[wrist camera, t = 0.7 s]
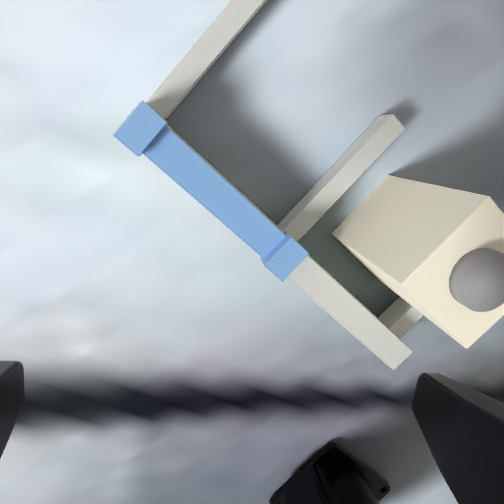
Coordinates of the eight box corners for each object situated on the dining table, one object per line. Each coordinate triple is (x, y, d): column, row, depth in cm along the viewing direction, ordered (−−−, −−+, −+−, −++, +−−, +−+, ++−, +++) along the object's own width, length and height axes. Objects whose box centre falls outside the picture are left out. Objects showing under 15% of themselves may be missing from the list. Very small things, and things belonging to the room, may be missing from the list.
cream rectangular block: (434, 226, 23) (563, 276, 15) (380, 280, 24) (476, 356, 16) (387, 175, 22) (501, 198, 14) (331, 233, 22) (408, 289, 14)
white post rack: (482, 234, 24) (539, 254, 20) (369, 344, 25) (402, 385, 21) (259, -26, 18) (276, -70, 14) (126, 132, 19) (109, 131, 15)
